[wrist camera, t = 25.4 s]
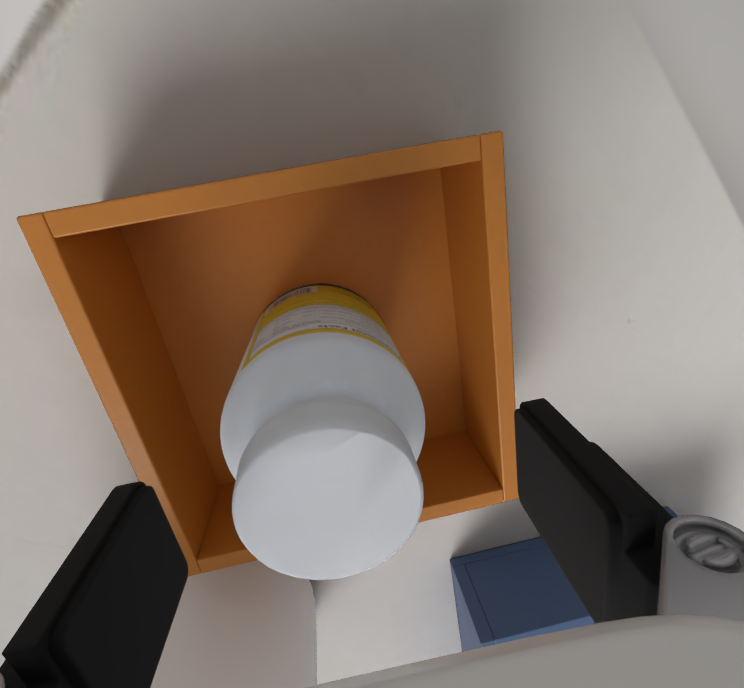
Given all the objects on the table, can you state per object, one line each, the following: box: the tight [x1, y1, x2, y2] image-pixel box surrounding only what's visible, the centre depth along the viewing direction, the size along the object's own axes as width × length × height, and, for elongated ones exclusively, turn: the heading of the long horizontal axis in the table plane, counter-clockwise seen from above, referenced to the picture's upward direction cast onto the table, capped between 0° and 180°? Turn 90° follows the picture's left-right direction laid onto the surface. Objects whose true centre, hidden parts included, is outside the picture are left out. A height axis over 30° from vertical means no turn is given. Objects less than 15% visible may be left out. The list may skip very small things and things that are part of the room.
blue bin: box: [450, 507, 678, 652], centre depth 29 cm, size 16×16×6 cm
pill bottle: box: [220, 283, 425, 580], centre depth 16 cm, size 6×6×12 cm
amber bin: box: [17, 131, 519, 577], centre depth 19 cm, size 16×16×6 cm
